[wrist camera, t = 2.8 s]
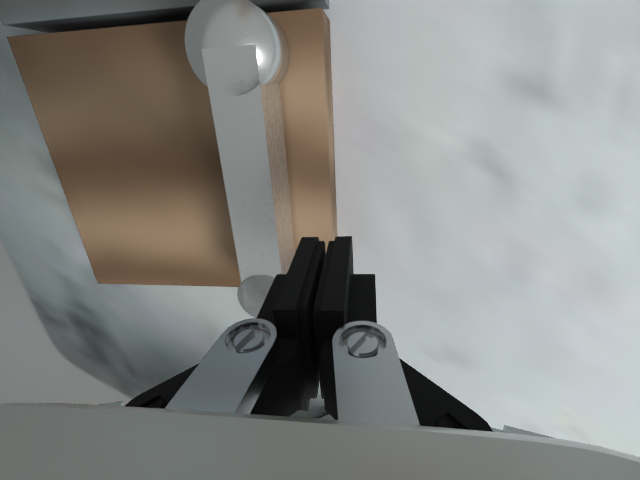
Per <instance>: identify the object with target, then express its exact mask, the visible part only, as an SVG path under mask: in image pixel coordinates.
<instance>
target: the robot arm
mask: <svg viewBox="0 0 640 480" xmlns="http://www.w3.org/2000/svg"><path fill="white" fill-rule="evenodd" d="M319 381H320V387H321V396H322V399H324V403H325V410H326V411H327V412H328V413H329V415H326V416H323V417H321V418H319V419H317V418H301V417H291V415H292V414H293V413H295V412H296V411H298V410H306V411H308V408H309V402H310V398H317V394H318V387H319ZM0 480H640V457H637V456H633V455H630V454H626V453H622V452H619V451H615V450H611V449H608V448H604V447H600V446H595V445H590V444H585V443H579V442H574V441H569V440H563V439H556V438H553V437H549V436H545V435H541V434H537V433H533V432H529V431H525V430H521V429H517V428H514V427H510V426H506V425H504V428H503V430H499V429H495V428H491V427H490V426H489V425H488V423H487V422H486V421H485V420H484V419H483V418H481V417H480V416H479V415H478V414H477V413H475V412H474V411H473V410H471V409H470V408H468V407H467V406H466V405H464V404H463V403H461V402H460V401H459V400H457V399H456V398H454V397H453V396H452V395H450V394H449V393H447V392H446V391H445V390H443V389H442V388H440V387H439V386H438V385H436V384H435V383H433V382H432V381H431V380H429V379H428V378H426V377H425V376H424V375H422V374H421V373H419V372H418V371H416V370H415V369H414V368H412V367H411V366H409V365H408V364H407V363H405V362H404V361H402V360H401V359H400V358H399V356H398V353H397V350H396V347H395V343H394V340H393V338H392V336H391V334H390V332H389V331H388V330H387V329H386V328H384V327H383V326H381V325H379V324H377V319H376V289H375V274H353V250H352V236H345V237H335V240H334V241H329V243H328V247H327V251H326V249H325V242H324V241H319V238H318V237H302V238H301V240H300V242H299V245H298V247H297V250H296V252H295V255H294V257H293V260H292V262H291V265H290V267H289V270H288V272H287V274H277V275H276V276H275V278H274V281H273V283H272V285H271V287H270V289H269V291H268V294H267V296H266V298H265V300H264V302H263V305H262V307H261V309H260V311H259V313H258V316H257V318H256V319H255V318H252V319H246V320H242V321H240V322H237V323H235V324H233V325H232V326H230V327H228V328H227V329H226V330H225V331H224V332H223V333H222V335H221V336H220V337H219V339H218V340H217V341H216V342H215V344H214V345H213V346H212V348H211V349H210V350H209V352H208V353H207V354H206V355H205V357H204V358H203V359H202V361H201V362H200V363H199V364H197V365H195V366H194V367H192V368H190V369H188V370H186V371H184V372H182V373H180V374H178V375H176V376H174V377H172V378H171V379H169V380H167V381H165V382H163V383H161V384H159V385H157V386H155V387H153V388H151V389H149V390H148V391H146V392H144V393H142V394H140V395H139V396H137V397H135V398H134V399H132V400H131V401H130V402H129V403H128V404H126V405H125V404H124V402H123V401H121V402H114V403H107V404H100V405H87V404H65V403H3V404H0Z"/></svg>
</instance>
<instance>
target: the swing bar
mask: <svg viewBox="0 0 640 480" xmlns="http://www.w3.org/2000/svg"><path fill="white" fill-rule="evenodd" d="M185 49H186V53H187V57H188V60H189V63H190V65H191V67H192V69H193V71H194V72H195V74H196V75H197V77H198V78H199V79H200V80H201V81H202V82H203V83H204V84H205V85H206V86H207V87H208V90H209V96H210V102H211V108H212V114H213V120H214V126H215V131H216V137H217V143H218V149H219V155H220V161H221V167H222V172H223V178H224V184H225V190H226V196H227V202H228V208H229V213H230V219H231V225H232V231H233V237H234V243H235V249H236V254H237V260H238V266H239V272H240V278H241V284H240V286H239V288H238V300H239V302H240V304H241V306H242V308H243V309H244V310H245V311H246V312H247V313H248V314H250V315H251V316H253V317H255V318H257V316H258V313H259V311H260V309H261V307H262V305H263V302H264V300H265V298H266V296H267V294H268V291H269V289H270V287H271V285H272V283H273V281H274V278H275V276H276V275H277V274H287V272H288V270H289V267H290V265H291V262H292V260H293V257H294V255H295V246H294V235H293V225H292V214H291V203H290V192H289V181H288V171H287V160H286V149H285V138H284V127H283V117H282V106H281V95H280V83H281V82H282V81H283V79H284V78H285V76H286V74H287V71H288V68H289V64H290V46H289V42H288V39H287V36H286V34H285V32H284V30H283V28H282V27H281V25H280V24H279V23H278V22H277V21H276V20H275V19H274V18H273V17H271V16H270V15H268V14H267V13H266V12H264V11H263V10H261V9H260V8H259V7H257V6H256V5H255V4H253V3H252V2H250V1H249V0H201V1H200V2H199V3H198V4H197V5H196V6H195V7H194V9H193V10H192V12H191V14H190V16H189V18H188V21H187V24H186V29H185Z"/></svg>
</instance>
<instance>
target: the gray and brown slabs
mask: <svg viewBox="0 0 640 480" xmlns="http://www.w3.org/2000/svg"><path fill="white" fill-rule="evenodd" d="M200 1H201V0H0V19H1V22H2V25H7V26H13V27H19V28H25V29H31V30H37V31H43V32H49V33H45V34H35V35H24V36H13V37H7V38H8V41H9V44H10V46H11V49H12V52H13V55H14V57H15V60H16V63H17V65H18V68H19V71H20V74H21V76H22V79H23V82H24V84H25V87H26V90H27V93H28V95H29V98H30V101H31V103H32V106H33V109H34V112H35V114H36V117H37V120H38V122H39V125H40V128H41V131H42V133H43V136H44V139H45V141H46V144H47V147H48V149H49V152H50V155H51V158H52V160H53V163H54V166H55V168H56V171H57V174H58V177H59V179H60V182H61V185H62V187H63V190H64V193H65V196H66V198H67V201H68V204H69V206H70V209H71V212H72V215H73V217H74V220H75V223H76V225H77V228H78V231H79V234H80V236H81V239H82V242H83V244H84V247H85V250H86V253H87V255H88V258H89V261H90V263H91V266H92V269H93V272H94V274H95V277H96V280H97V282H98V283H102V284H142V285H183V286H223V287H239V286H240V284H241V278H240V272H239V266H238V260H237V254H236V249H235V243H234V237H233V231H232V225H231V219H230V213H229V208H228V202H227V196H226V190H225V184H224V178H223V172H222V167H221V161H220V155H219V149H218V143H217V137H216V131H215V126H214V120H213V114H212V108H211V102H210V96H209V90H208V87H207V86H206V85H205V84H204V83H203V82H202V81H201V80H200V79H199V78H198V77H197V75H196V74H195V72H194V71H193V69H192V67H191V65H190V63H189V60H188V57H187V53H186V49H185V29H186V24H187V21H188V18H189V16H190V14H191V12H192V10H193V9H194V7H195V6H196V5H197V4H198V3H199V2H200ZM249 1H250V2H252V3H253V4H255V5H256V6H257V7H259V8H260V9H261V10H263V11H264V12H266V13H267V14H268V15H270V16H271V17H273V18H274V19H275V20H276V21H277V22H278V23H279V24H280V25H281V27H282V28H283V30H284V32H285V34H286V36H287V39H288V42H289V46H290V64H289V68H288V71H287V74H286V76H285V78H284V79H283V81H282V82H281V83H280V95H281V106H282V117H283V127H284V138H285V149H286V160H287V171H288V181H289V192H290V203H291V214H292V225H293V235H294V246H295V252H296V250H297V247H298V245H299V242H300V240H301V238H302V237H318V238H319V241H324V242H325V249H326V251H327V247H328V243H329V241H334V240H335V237H337V213H336V186H335V158H334V130H333V102H332V74H331V46H330V21H329V19H328V17H327V16H326V14H325V12H324V11H323V9H329V0H249Z"/></svg>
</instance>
